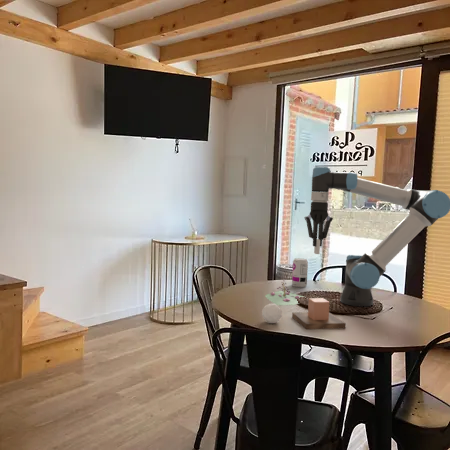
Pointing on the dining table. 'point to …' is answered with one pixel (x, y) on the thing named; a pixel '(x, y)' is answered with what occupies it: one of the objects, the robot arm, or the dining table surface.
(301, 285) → the supplement can
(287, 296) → the plant
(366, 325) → the dining table surface
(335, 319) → the post stand
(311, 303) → the salmon pink block
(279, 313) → the geometric ball
